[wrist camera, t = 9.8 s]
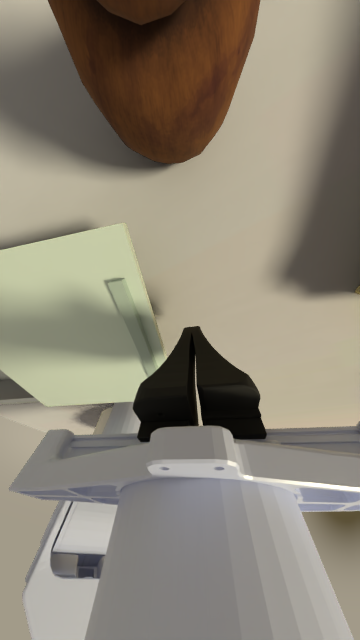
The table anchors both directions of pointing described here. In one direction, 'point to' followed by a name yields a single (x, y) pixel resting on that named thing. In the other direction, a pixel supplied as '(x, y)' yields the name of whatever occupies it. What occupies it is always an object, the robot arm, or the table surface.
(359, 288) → the toy sofa
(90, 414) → the table surface
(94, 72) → the wooden figurine
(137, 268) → the lid
